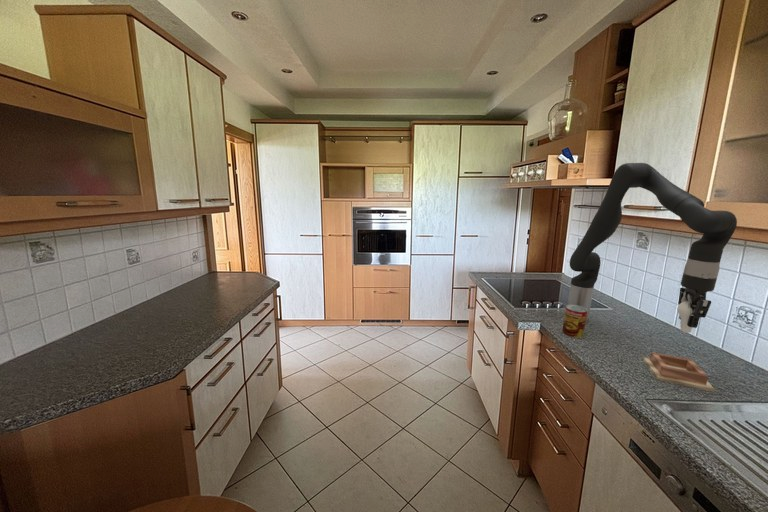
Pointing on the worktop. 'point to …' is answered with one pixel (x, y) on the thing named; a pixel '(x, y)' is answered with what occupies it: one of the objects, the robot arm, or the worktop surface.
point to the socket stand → (677, 371)
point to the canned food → (574, 321)
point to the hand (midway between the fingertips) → (687, 323)
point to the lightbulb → (684, 316)
